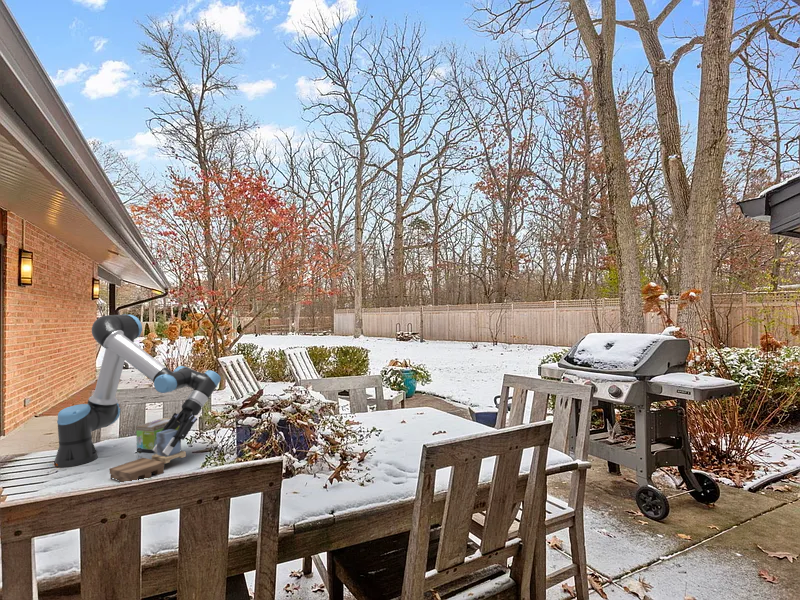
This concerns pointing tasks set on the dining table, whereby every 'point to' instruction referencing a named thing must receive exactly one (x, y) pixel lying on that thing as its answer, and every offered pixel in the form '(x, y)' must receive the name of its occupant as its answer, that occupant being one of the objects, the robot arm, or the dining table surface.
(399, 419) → the dining table surface
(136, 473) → the block
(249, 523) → the dining table surface
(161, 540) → the dining table surface
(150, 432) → the tea box
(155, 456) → the pallet
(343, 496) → the dining table surface
